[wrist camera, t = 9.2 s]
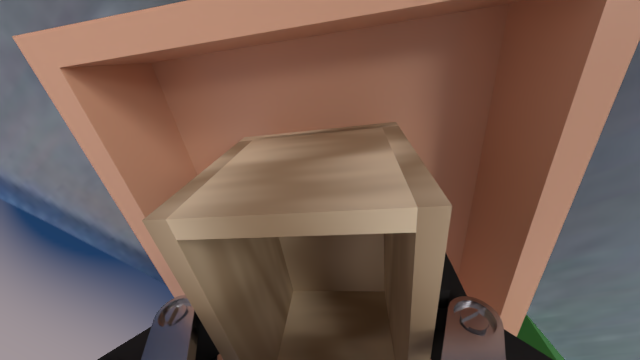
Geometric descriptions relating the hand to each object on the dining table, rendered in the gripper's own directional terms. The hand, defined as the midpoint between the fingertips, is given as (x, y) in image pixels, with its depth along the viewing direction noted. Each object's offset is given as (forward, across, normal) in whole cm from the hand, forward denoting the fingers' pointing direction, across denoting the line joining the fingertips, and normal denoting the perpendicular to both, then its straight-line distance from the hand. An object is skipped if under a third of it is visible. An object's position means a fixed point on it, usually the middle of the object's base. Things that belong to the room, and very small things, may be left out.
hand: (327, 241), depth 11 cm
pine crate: (+1, 0, 0) cm, 1 cm away
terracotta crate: (+4, 0, 0) cm, 4 cm away
